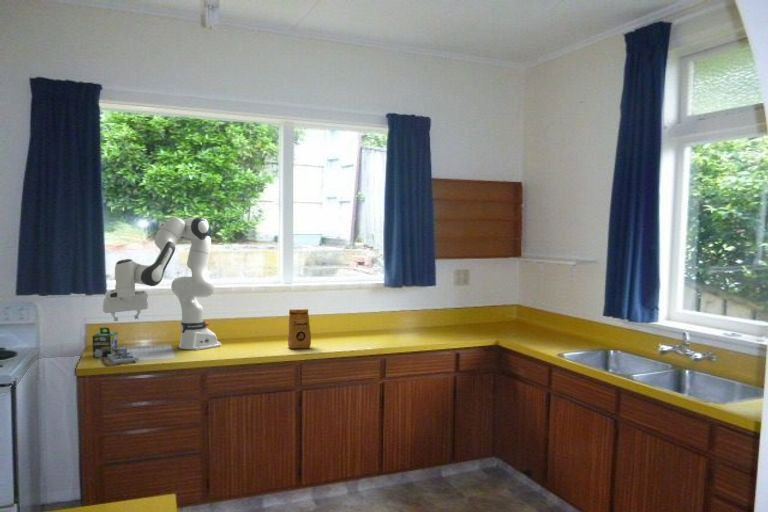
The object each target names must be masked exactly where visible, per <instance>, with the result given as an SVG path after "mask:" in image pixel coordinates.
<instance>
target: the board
mask: <svg viewBox="0 0 768 512" xmlns="http://www.w3.org/2000/svg"><path fill="white" fill-rule="evenodd" d="M119 348H120V347H118V348H116V349H113V352H115V356H117V355H118V359H122V354H123V352H122V351H120V352H119ZM101 361H102V362H103V363H104V362H105V363H106V364H107V365H106V364H105V363H104V364H105V365H106V366H107V367H108V368H109V367H115V365H117V366H122V365H121V364H125V365H129V364H128V363H133V364H136V361H127V362H119V363H113V362H112V361H111V360H110V359H109V358H108V357H101Z"/></svg>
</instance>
